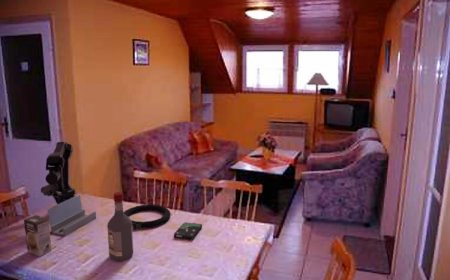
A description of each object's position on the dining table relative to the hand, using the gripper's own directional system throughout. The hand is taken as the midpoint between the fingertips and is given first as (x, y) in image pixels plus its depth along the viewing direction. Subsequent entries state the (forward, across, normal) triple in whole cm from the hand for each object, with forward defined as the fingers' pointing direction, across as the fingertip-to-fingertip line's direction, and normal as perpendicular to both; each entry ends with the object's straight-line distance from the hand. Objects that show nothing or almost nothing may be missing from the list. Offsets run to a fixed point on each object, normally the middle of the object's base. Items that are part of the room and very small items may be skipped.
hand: (59, 205), depth 190 cm
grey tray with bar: (+10, +10, 0) cm, 14 cm away
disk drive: (+11, +70, +16) cm, 73 cm away
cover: (+2, +5, 0) cm, 5 cm away
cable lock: (+11, +40, +21) cm, 47 cm away
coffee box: (+10, +14, -27) cm, 32 cm away
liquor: (+10, +52, -16) cm, 56 cm away
